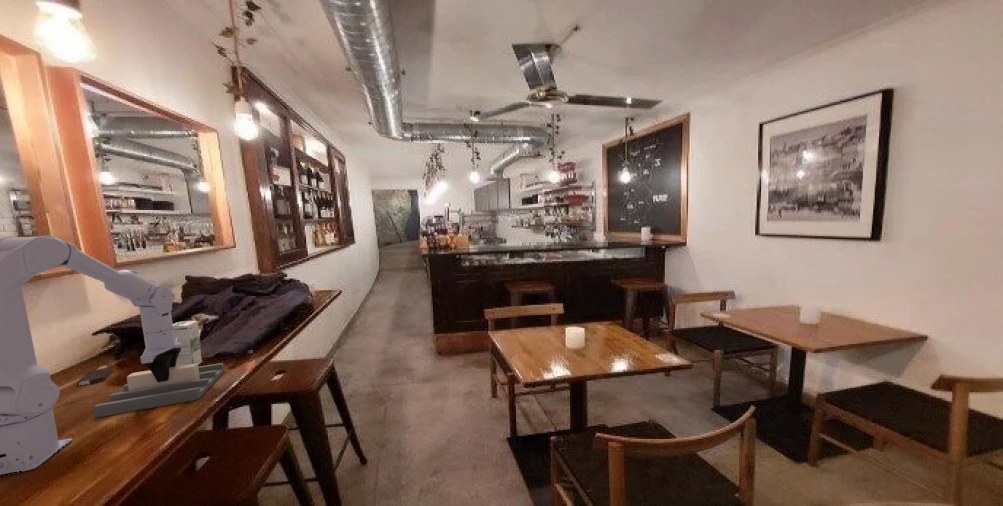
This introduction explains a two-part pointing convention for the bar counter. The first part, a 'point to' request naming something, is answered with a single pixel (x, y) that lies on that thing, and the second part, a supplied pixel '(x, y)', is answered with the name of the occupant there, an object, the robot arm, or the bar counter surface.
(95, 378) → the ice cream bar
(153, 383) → the clay strip
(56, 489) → the bar counter surface
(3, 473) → the robot arm
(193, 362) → the syrup box
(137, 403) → the drying rack
